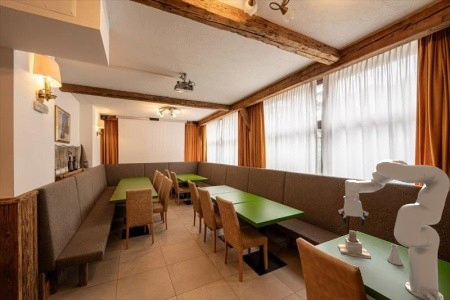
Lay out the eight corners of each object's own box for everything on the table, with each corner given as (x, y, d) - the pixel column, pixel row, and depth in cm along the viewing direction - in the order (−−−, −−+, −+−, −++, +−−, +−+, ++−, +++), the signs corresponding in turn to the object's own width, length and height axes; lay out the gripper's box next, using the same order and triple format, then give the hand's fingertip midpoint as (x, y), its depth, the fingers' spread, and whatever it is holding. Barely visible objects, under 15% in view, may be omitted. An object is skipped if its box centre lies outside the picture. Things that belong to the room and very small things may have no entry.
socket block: (370, 258, 120) (370, 246, 120) (341, 253, 125) (341, 242, 126) (364, 249, 131) (364, 238, 131) (337, 245, 137) (337, 235, 137)
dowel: (357, 251, 126) (356, 232, 126) (350, 250, 127) (349, 231, 128) (355, 248, 130) (355, 230, 130) (348, 247, 131) (348, 229, 132)
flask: (405, 266, 111) (405, 249, 112) (391, 264, 113) (391, 247, 113) (397, 259, 118) (397, 243, 119) (384, 258, 120) (383, 242, 120)
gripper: (338, 198, 129) (340, 224, 128) (369, 200, 123) (371, 227, 122) (336, 196, 136) (337, 221, 135) (365, 198, 130) (366, 224, 129)
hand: (353, 224), depth 128 cm, fingers open, 9 cm apart
